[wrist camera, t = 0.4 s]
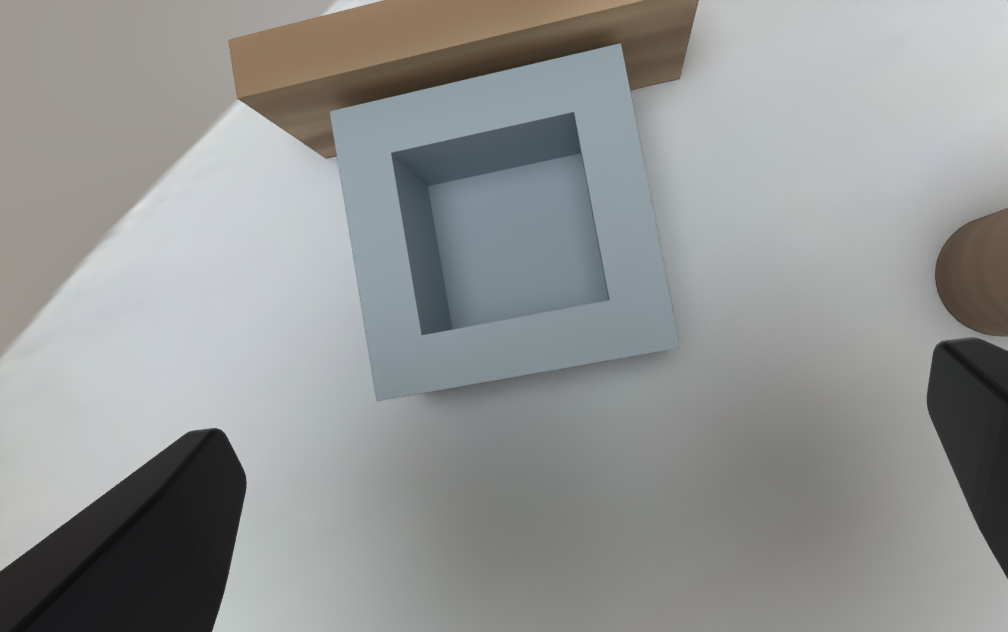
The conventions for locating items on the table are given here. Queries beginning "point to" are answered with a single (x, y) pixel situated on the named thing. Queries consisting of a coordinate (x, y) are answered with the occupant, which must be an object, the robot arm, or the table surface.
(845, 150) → the table surface
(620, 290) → the socket block
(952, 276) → the dowel
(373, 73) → the backstop board
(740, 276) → the table surface
